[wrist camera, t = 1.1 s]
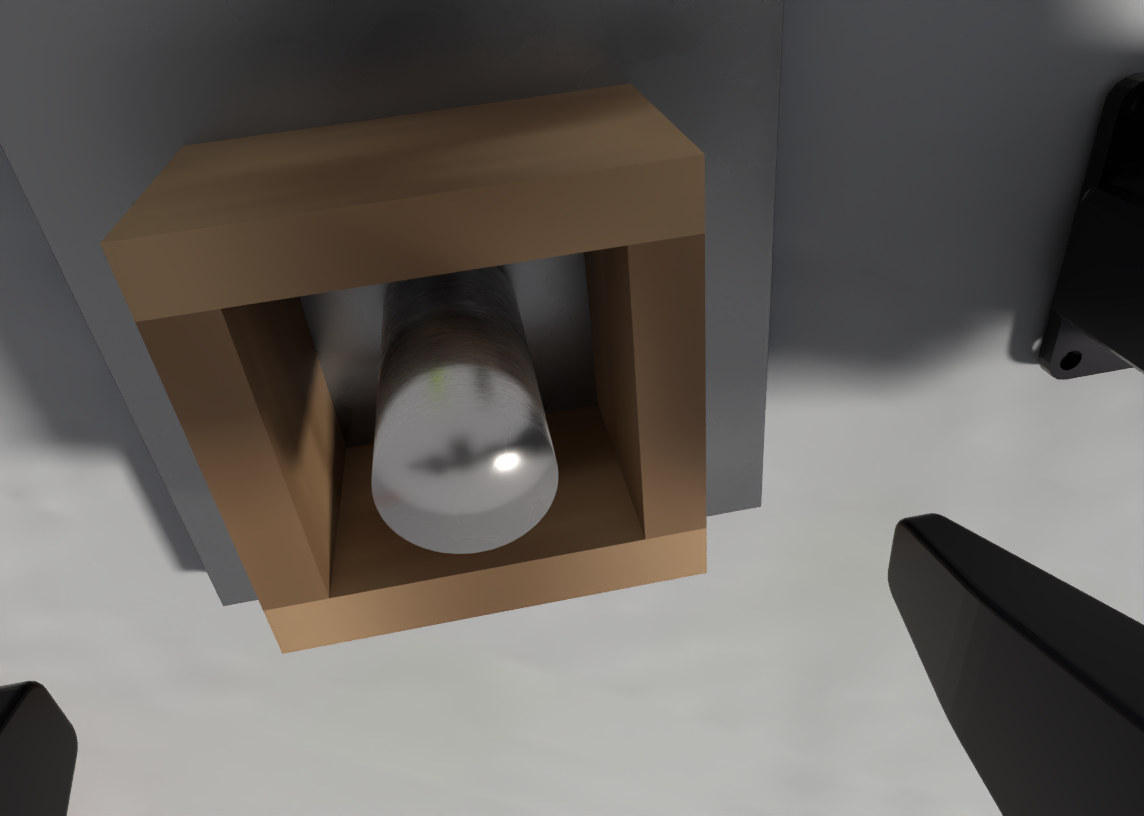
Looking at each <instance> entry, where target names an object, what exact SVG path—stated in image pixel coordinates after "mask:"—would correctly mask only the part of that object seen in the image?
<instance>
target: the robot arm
mask: <svg viewBox="0 0 1144 816" xmlns="http://www.w3.org/2000/svg"><path fill="white" fill-rule="evenodd" d="M1140 95H1141V100H1140V102H1139V104H1138V106H1137V107H1136V108H1135V109H1134V110H1133V111H1132V112H1131V107H1132V105H1133V103H1134V101H1135V100H1136V99H1137V98H1138V97H1139V96H1140ZM1067 353H1068V354H1067ZM1066 354H1067V356H1066V357H1064V356H1065V355H1066ZM1063 357H1064V358H1063ZM1062 358H1063V359H1062ZM1038 363H1039V365H1040V366H1041V368H1042V369H1044V370H1045V371H1046V372H1047V373H1049V374H1050V375H1051V376H1052V377H1054V378H1056V379H1071V378H1076V377H1082V376H1088V375H1093V374H1099V373H1104V372H1110V371H1116V370H1121V369H1127V368H1133V367H1134V368H1136V369H1137V370H1139V371H1140V372H1142V373H1143V374H1144V73H1137V74H1133V75H1130V76H1128V77H1125V78H1124V79H1123V80H1121V81H1120V82H1119V83H1117V84H1116V85H1115V86H1114V88H1113V89H1112V90H1111V91H1110V93H1109V94H1108V96H1107V98H1106V101H1105V103H1104V106H1103V110H1102V113H1101V117H1100V121H1099V125H1098V129H1097V133H1096V137H1095V140H1094V144H1093V148H1092V152H1091V156H1090V160H1089V164H1088V167H1087V171H1086V175H1085V179H1084V183H1083V187H1082V191H1081V194H1080V198H1079V202H1078V206H1077V210H1076V214H1075V217H1074V221H1073V225H1072V229H1071V233H1070V237H1069V241H1068V244H1067V248H1066V252H1065V256H1064V260H1063V264H1062V268H1061V271H1060V275H1059V279H1058V283H1057V287H1056V291H1055V294H1054V298H1053V302H1052V306H1051V310H1050V314H1049V318H1048V321H1047V325H1046V329H1045V333H1044V337H1043V341H1042V345H1041V348H1040V352H1039V359H1038ZM888 582H889V587H890V591H891V593H892V596H893V598H894V601H895V603H896V605H897V607H898V610H899V612H900V614H901V616H902V619H903V621H904V623H905V625H906V628H907V630H908V632H909V634H910V637H911V639H912V641H913V643H914V646H915V648H916V650H917V652H918V655H919V657H920V659H921V661H922V664H923V666H924V668H925V670H926V673H927V675H928V677H929V679H930V682H931V684H932V686H933V688H934V691H935V693H936V695H937V697H938V700H939V702H940V704H941V706H942V708H943V710H944V712H945V714H946V716H947V718H948V720H949V722H950V724H951V726H952V728H953V730H954V731H955V733H956V735H957V737H958V739H959V741H960V742H961V744H962V746H963V748H964V749H965V751H966V753H967V754H968V756H969V758H970V760H971V761H972V763H973V765H974V767H975V768H976V770H977V772H978V773H979V775H980V777H981V779H982V780H983V782H984V784H985V786H986V787H987V789H988V791H989V792H990V794H991V796H992V798H993V799H994V801H995V803H996V805H997V806H998V808H999V810H1000V811H1001V813H1002V815H1003V816H1144V625H1143V624H1141V623H1139V622H1138V621H1136V620H1134V619H1132V618H1130V617H1128V616H1126V615H1125V614H1123V613H1121V612H1119V611H1117V610H1115V609H1114V608H1112V607H1110V606H1108V605H1106V604H1104V603H1103V602H1101V601H1099V600H1097V599H1095V598H1093V597H1091V596H1090V595H1088V594H1086V593H1084V592H1082V591H1080V590H1079V589H1077V588H1075V587H1073V586H1071V585H1069V584H1068V583H1066V582H1064V581H1062V580H1060V579H1058V578H1056V577H1055V576H1053V575H1051V574H1049V573H1047V572H1045V571H1044V570H1042V569H1040V568H1038V567H1036V566H1034V565H1033V564H1031V563H1029V562H1027V561H1025V560H1023V559H1022V558H1020V557H1018V556H1016V555H1014V554H1012V553H1010V552H1009V551H1007V550H1005V549H1003V548H1001V547H999V546H998V545H996V544H994V543H992V542H990V541H988V540H987V539H985V538H983V537H981V536H979V535H977V534H975V533H974V532H972V531H970V530H968V529H966V528H964V527H963V526H961V525H959V524H957V523H955V522H953V521H952V520H950V519H948V518H946V517H944V516H942V515H939V514H935V513H930V514H924V515H919V516H913V517H908V518H904V519H902V520H900V521H899V522H898V524H897V525H896V528H895V532H894V538H893V544H892V550H891V556H890V562H889V568H888ZM77 750H78V742H77V736H76V733H75V730H74V728H73V726H72V724H71V723H70V721H69V720H68V719H67V717H66V716H65V714H64V713H63V712H62V710H61V709H60V707H59V706H58V705H57V703H56V702H55V700H54V699H53V698H52V696H51V695H50V694H49V692H48V691H47V689H46V688H45V687H44V686H43V685H42V684H40V683H38V682H36V681H26V682H21V683H15V684H10V685H4V686H0V816H67V810H68V805H69V799H70V793H71V787H72V781H73V775H74V769H75V763H76V758H77Z"/></svg>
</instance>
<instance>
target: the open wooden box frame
mask: <svg viewBox="0 0 1144 816" xmlns="http://www.w3.org/2000/svg"><path fill="white" fill-rule="evenodd" d="M100 244H101V247H102V249H103V251H104V253H105V256H106V258H107V260H108V262H109V265H110V267H111V269H112V271H113V274H114V276H115V278H116V280H117V283H118V285H119V287H120V289H121V292H122V294H123V296H124V298H125V301H126V303H127V305H128V307H129V310H130V312H131V314H132V316H133V319H134V321H135V323H136V325H137V328H138V330H139V332H140V334H141V337H142V339H143V341H144V343H145V346H146V348H147V350H148V352H149V355H150V357H151V359H152V361H153V364H154V366H155V368H156V370H157V373H158V375H159V377H160V379H161V382H162V384H163V386H164V388H165V391H166V393H167V395H168V397H169V400H170V402H171V404H172V406H173V409H174V411H175V413H176V415H177V418H178V420H179V422H180V424H181V427H182V429H183V431H184V433H185V436H186V438H187V440H188V442H189V445H190V447H191V449H192V451H193V454H194V456H195V458H196V460H197V463H198V465H199V467H200V469H201V472H202V474H203V476H204V478H205V481H206V483H207V485H208V487H209V490H210V492H211V494H212V496H213V499H214V501H215V503H216V505H217V508H218V510H219V512H220V514H221V516H222V519H223V521H224V523H225V525H226V528H227V530H228V532H229V534H230V537H231V539H232V541H233V543H234V546H235V548H236V550H237V552H238V555H239V557H240V559H241V561H242V564H243V566H244V568H245V570H246V573H247V575H248V577H249V579H250V582H251V584H252V586H253V588H254V591H255V593H256V595H257V597H258V600H259V602H260V604H261V606H262V609H263V611H264V613H265V615H266V618H267V620H268V622H269V624H270V627H271V629H272V631H273V633H274V636H275V638H276V640H277V642H278V645H279V647H280V649H281V651H282V654H284V653H289V652H294V651H299V650H305V649H310V648H315V647H320V646H326V645H331V644H336V643H341V642H346V641H352V640H357V639H362V638H367V637H373V636H378V635H383V634H388V633H394V632H399V631H404V630H409V629H414V628H420V627H425V626H430V625H435V624H441V623H446V622H451V621H456V620H462V619H467V618H472V617H477V616H482V615H488V614H493V613H498V612H503V611H509V610H514V609H519V608H524V607H529V606H535V605H540V604H545V603H550V602H556V601H561V600H566V599H571V598H577V597H582V596H587V595H592V594H597V593H603V592H608V591H613V590H618V589H624V588H629V587H634V586H639V585H645V584H650V583H655V582H660V581H665V580H671V579H676V578H681V577H686V576H692V575H697V574H702V573H707V566H706V333H705V154H704V153H703V152H702V151H701V150H700V149H699V148H698V147H697V146H696V145H695V144H694V143H693V142H691V141H690V140H689V139H688V138H687V137H686V136H685V135H684V134H683V133H682V132H681V131H680V130H679V129H678V128H677V127H676V126H675V125H674V124H673V123H672V122H670V121H669V120H668V119H667V118H666V117H665V116H664V115H663V114H662V113H661V112H660V111H659V110H658V109H657V108H656V107H655V106H654V105H653V104H652V103H650V102H649V101H648V100H647V99H646V98H645V97H644V96H643V95H642V94H641V93H640V92H639V91H638V90H637V89H636V88H635V87H634V86H633V85H632V84H623V85H616V86H609V87H602V88H595V89H587V90H580V91H573V92H566V93H559V94H551V95H544V96H537V97H530V98H523V99H516V100H508V101H501V102H494V103H487V104H480V105H472V106H465V107H458V108H451V109H444V110H436V111H429V112H422V113H415V114H408V115H400V116H393V117H386V118H379V119H372V120H365V121H357V122H350V123H343V124H336V125H329V126H321V127H314V128H307V129H300V130H293V131H285V132H278V133H271V134H264V135H257V136H250V137H242V138H235V139H228V140H221V141H214V142H206V143H199V144H192V145H185V146H182V147H181V149H180V150H179V151H178V152H177V153H176V154H175V156H174V157H173V158H172V159H171V160H170V161H169V163H168V164H167V165H166V166H165V167H164V169H163V170H162V171H161V172H160V173H159V174H158V176H157V177H156V178H155V179H154V180H153V182H152V183H151V184H150V185H149V186H148V187H147V189H146V190H145V191H144V192H143V193H142V194H141V196H140V197H139V198H138V199H137V200H136V202H135V203H134V204H133V205H132V206H131V207H130V209H129V210H128V211H127V212H126V213H125V214H124V216H123V217H122V218H121V219H120V220H119V222H118V223H117V224H116V225H115V226H114V227H113V229H112V230H111V231H110V232H109V233H108V234H107V236H106V237H105V238H104V239H103V240H102V242H101V243H100ZM582 252H584V259H585V269H586V280H587V291H588V302H589V312H590V323H591V334H592V344H593V355H594V366H595V377H596V387H597V398H598V405H594V406H588V407H582V408H577V409H571V410H565V411H559V412H553V413H548V414H545V416H546V421H547V425H548V429H549V433H550V437H551V441H552V445H553V449H554V453H555V457H556V461H557V466H558V487H557V491H556V494H555V497H554V500H553V502H552V504H551V506H550V508H549V509H548V511H547V512H546V514H545V515H544V516H543V518H542V519H541V520H540V521H539V522H538V523H537V524H536V525H535V526H534V527H533V528H532V529H531V530H529V531H528V532H527V533H525V534H524V535H523V536H521V537H519V538H518V539H516V540H514V541H512V542H510V543H508V544H506V545H504V546H501V547H498V548H495V549H492V550H487V551H483V552H477V553H469V554H452V553H443V552H436V551H432V550H429V549H425V548H422V547H420V546H417V545H415V544H413V543H411V542H409V541H407V540H405V539H404V538H402V537H401V536H400V535H398V534H397V533H396V532H394V531H393V530H392V529H391V528H390V527H389V526H388V525H387V523H386V522H385V521H384V520H383V519H382V517H381V515H380V513H379V512H378V510H377V508H376V505H375V502H374V499H373V494H372V467H373V452H374V443H373V444H367V445H361V446H355V447H350V448H346V445H345V442H344V439H343V435H342V432H341V429H340V426H339V423H338V419H337V416H336V413H335V410H334V407H333V403H332V400H331V397H330V394H329V390H328V387H327V384H326V381H325V378H324V374H323V371H322V368H321V365H320V362H319V358H318V355H317V352H316V349H315V346H314V342H313V339H312V336H311V333H310V330H309V326H308V323H307V320H306V317H305V314H304V310H303V307H302V304H301V301H300V296H306V295H312V294H319V293H325V292H332V291H338V290H344V289H351V288H357V287H364V286H370V285H377V284H383V283H389V282H396V281H402V280H409V279H415V278H421V277H428V276H434V275H441V274H447V273H454V272H460V271H466V270H473V269H479V268H486V267H492V266H498V265H505V264H511V263H518V262H524V261H531V260H537V259H543V258H550V257H556V256H563V255H569V254H575V253H582Z"/></svg>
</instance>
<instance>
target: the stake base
mask: <svg viewBox="0 0 1144 816" xmlns="http://www.w3.org/2000/svg"><path fill="white" fill-rule="evenodd" d="M783 5H784V0H0V144H1V146H2V148H3V150H4V152H5V154H6V157H7V159H8V161H9V163H10V165H11V167H12V169H13V171H14V173H15V175H16V177H17V179H18V181H19V183H20V186H21V188H22V190H23V192H24V194H25V196H26V198H27V200H28V202H29V204H30V206H31V208H32V210H33V213H34V215H35V217H36V219H37V221H38V223H39V225H40V227H41V229H42V231H43V233H44V235H45V237H46V239H47V242H48V244H49V246H50V248H51V250H52V252H53V254H54V256H55V258H56V260H57V262H58V264H59V266H60V268H61V271H62V273H63V275H64V277H65V279H66V281H67V283H68V285H69V287H70V289H71V291H72V293H73V295H74V298H75V300H76V302H77V304H78V306H79V308H80V310H81V312H82V314H83V316H84V318H85V320H86V322H87V324H88V327H89V329H90V331H91V333H92V335H93V337H94V339H95V341H96V343H97V345H98V347H99V349H100V351H101V354H102V356H103V358H104V360H105V362H106V364H107V366H108V368H109V370H110V372H111V374H112V376H113V378H114V380H115V383H116V385H117V387H118V389H119V391H120V393H121V395H122V397H123V399H124V401H125V403H126V405H127V407H128V409H129V412H130V414H131V416H132V418H133V420H134V422H135V424H136V426H137V428H138V430H139V432H140V434H141V436H142V439H143V441H144V443H145V445H146V447H147V449H148V451H149V453H150V455H151V457H152V459H153V461H154V463H155V465H156V468H157V470H158V472H159V474H160V476H161V478H162V480H163V482H164V484H165V486H166V488H167V490H168V492H169V494H170V497H171V499H172V501H173V503H174V505H175V507H176V509H177V511H178V513H179V515H180V517H181V519H182V521H183V524H184V526H185V528H186V530H187V532H188V534H189V536H190V538H191V540H192V542H193V544H194V546H195V548H196V550H197V553H198V555H199V557H200V559H201V561H202V563H203V565H204V567H205V569H206V571H207V573H208V575H209V577H210V580H211V582H212V584H213V586H214V588H215V590H216V592H217V594H218V596H219V598H220V600H221V602H222V604H223V606H226V605H232V604H237V603H243V602H248V601H253V600H258V597H257V595H256V593H255V591H254V588H253V586H252V584H251V582H250V579H249V577H248V575H247V573H246V570H245V568H244V566H243V564H242V561H241V559H240V557H239V555H238V552H237V550H236V548H235V546H234V543H233V541H232V539H231V537H230V534H229V532H228V530H227V528H226V525H225V523H224V521H223V519H222V516H221V514H220V512H219V510H218V508H217V505H216V503H215V501H214V499H213V496H212V494H211V492H210V490H209V487H208V485H207V483H206V481H205V478H204V476H203V474H202V472H201V469H200V467H199V465H198V463H197V460H196V458H195V456H194V454H193V451H192V449H191V447H190V445H189V442H188V440H187V438H186V436H185V433H184V431H183V429H182V427H181V424H180V422H179V420H178V418H177V415H176V413H175V411H174V409H173V406H172V404H171V402H170V400H169V397H168V395H167V393H166V391H165V388H164V386H163V384H162V382H161V379H160V377H159V375H158V373H157V370H156V368H155V366H154V364H153V361H152V359H151V357H150V355H149V352H148V350H147V348H146V346H145V343H144V341H143V339H142V337H141V334H140V332H139V330H138V328H137V325H136V323H135V321H134V319H133V316H132V314H131V312H130V310H129V307H128V305H127V303H126V301H125V298H124V296H123V294H122V292H121V289H120V287H119V285H118V283H117V280H116V278H115V276H114V274H113V271H112V269H111V267H110V265H109V262H108V260H107V258H106V256H105V253H104V251H103V249H102V247H101V244H100V243H101V242H102V240H103V239H104V238H105V237H106V236H107V234H108V233H109V232H110V231H111V230H112V229H113V227H114V226H115V225H116V224H117V223H118V222H119V220H120V219H121V218H122V217H123V216H124V214H125V213H126V212H127V211H128V210H129V209H130V207H131V206H132V205H133V204H134V203H135V202H136V200H137V199H138V198H139V197H140V196H141V194H142V193H143V192H144V191H145V190H146V189H147V187H148V186H149V185H150V184H151V183H152V182H153V180H154V179H155V178H156V177H157V176H158V174H159V173H160V172H161V171H162V170H163V169H164V167H165V166H166V165H167V164H168V163H169V161H170V160H171V159H172V158H173V157H174V156H175V154H176V153H177V152H178V151H179V150H180V149H181V147H182V146H185V145H192V144H199V143H206V142H214V141H221V140H228V139H235V138H242V137H250V136H257V135H264V134H271V133H278V132H285V131H293V130H300V129H307V128H314V127H321V126H329V125H336V124H343V123H350V122H357V121H365V120H372V119H379V118H386V117H393V116H400V115H408V114H415V113H422V112H429V111H436V110H444V109H451V108H458V107H465V106H472V105H480V104H487V103H494V102H501V101H508V100H516V99H523V98H530V97H537V96H544V95H551V94H559V93H566V92H573V91H580V90H587V89H595V88H602V87H609V86H616V85H623V84H632V85H633V86H634V87H635V88H636V89H637V90H638V91H639V92H640V93H641V94H642V95H643V96H644V97H645V98H646V99H647V100H648V101H649V102H650V103H652V104H653V105H654V106H655V107H656V108H657V109H658V110H659V111H660V112H661V113H662V114H663V115H664V116H665V117H666V118H667V119H668V120H669V121H670V122H672V123H673V124H674V125H675V126H676V127H677V128H678V129H679V130H680V131H681V132H682V133H683V134H684V135H685V136H686V137H687V138H688V139H689V140H690V141H691V142H693V143H694V144H695V145H696V146H697V147H698V148H699V149H700V150H701V151H702V152H703V153H704V154H705V333H706V516H712V515H717V514H723V513H728V512H733V511H739V510H744V509H750V508H755V507H760V506H761V495H762V472H763V450H764V428H765V406H766V383H767V361H768V339H769V317H770V294H771V272H772V250H773V228H774V205H775V183H776V161H777V139H778V116H779V94H780V72H781V50H782V27H783ZM300 301H301V304H302V307H303V310H304V314H305V317H306V320H307V323H308V326H309V330H310V333H311V336H312V339H313V342H314V346H315V349H316V352H317V355H318V358H319V362H320V365H321V368H322V371H323V374H324V378H325V381H326V384H327V387H328V390H329V394H330V397H331V400H332V403H333V407H334V410H335V413H336V416H337V419H338V423H339V426H340V429H341V432H342V435H343V439H344V442H345V445H346V448H350V447H355V446H361V445H367V444H373V443H374V452H373V467H372V494H373V499H374V502H375V505H376V508H377V510H378V512H379V513H380V515H381V517H382V519H383V520H384V521H385V522H386V523H387V525H388V526H389V527H390V528H391V529H392V530H393V531H394V532H396V533H397V534H398V535H400V536H401V537H402V538H404V539H405V540H407V541H409V542H411V543H413V544H415V545H417V546H420V547H422V548H425V549H429V550H432V551H436V552H443V553H452V554H469V553H477V552H483V551H487V550H492V549H495V548H498V547H501V546H504V545H506V544H508V543H510V542H512V541H514V540H516V539H518V538H519V537H521V536H523V535H524V534H525V533H527V532H528V531H529V530H531V529H532V528H533V527H534V526H535V525H536V524H537V523H538V522H539V521H540V520H541V519H542V518H543V516H544V515H545V514H546V512H547V511H548V509H549V508H550V506H551V504H552V502H553V500H554V497H555V494H556V491H557V487H558V466H557V461H556V457H555V453H554V449H553V445H552V441H551V437H550V433H549V429H548V425H547V421H546V416H545V414H548V413H553V412H559V411H565V410H571V409H577V408H582V407H588V406H594V405H598V398H597V387H596V377H595V366H594V355H593V344H592V334H591V323H590V312H589V302H588V291H587V280H586V269H585V259H584V252H582V253H575V254H569V255H563V256H556V257H550V258H543V259H537V260H531V261H524V262H518V263H511V264H505V265H498V266H492V267H486V268H479V269H473V270H466V271H460V272H454V273H447V274H441V275H434V276H428V277H421V278H415V279H409V280H402V281H396V282H389V283H383V284H377V285H370V286H364V287H357V288H351V289H344V290H338V291H332V292H325V293H319V294H312V295H306V296H300Z"/></svg>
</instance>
